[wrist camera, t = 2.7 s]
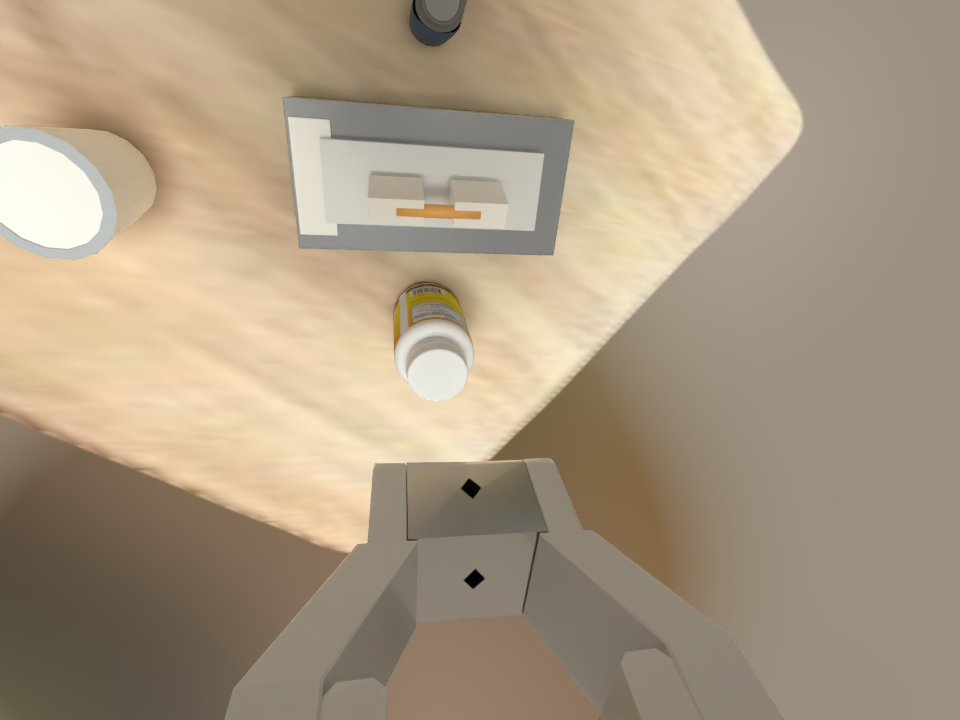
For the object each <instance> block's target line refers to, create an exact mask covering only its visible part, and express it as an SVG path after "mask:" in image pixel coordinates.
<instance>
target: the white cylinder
mask: <svg viewBox="0 0 960 720" xmlns="http://www.w3.org/2000/svg"><path fill="white" fill-rule="evenodd" d="M156 193H157V185H156V180H155V174H154V171H153V170H152V168H151V166H150V165H149V163H148V161H147V160H146V158H145V156H144V155H143V154H142V153H141V152H140V151H139V150H138V149H136V148H135V147H134V146H133V145H132V144H131V143H130V142H129V141H127V140H125V139H123V138H121V137H119V136H117V135H115V134H113V133H111V132H109V131H102V130H94V129H81V128H56V127H31V126H3V127H0V235H2V236H3V237H4V238H6V239H7V240H9V241H10V242H11V243H13V244H14V245H16V246H17V247H19V248H22V249H24V250H27V251H30V252H32V253H35V254H38V255H40V256H43V257H45V258H54V259H68V260H76V259H79V258H82V257H86V256H89V255H92V254H95V253H98V252H99V251H100V250H101V249H102V248H104V247H105V246H106V245H107V244H108V243H110V242H111V241H112V240H113V239H114V238H116V237H117V236H118V235H119V234H121V233H122V232H123V231H124V230H125V229H127V228H128V227H129V226H130V225H131V224H133V223H134V222H135V221H136V220H138V219H139V218H140V217H141V216H142V215H143V214H144V213H145V212H146V211H147V210H148V209H150V208H151V207H152V206H153V204H154V200H155V197H156Z"/></svg>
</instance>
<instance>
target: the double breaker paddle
mask: <svg viewBox="0 0 960 720" xmlns="http://www.w3.org/2000/svg"><path fill="white" fill-rule="evenodd" d="M508 205H509V204H508V202H507V199H506V196H505V193H504V191H503V188H502V185H501V182H485V181H467V180H451V184H450V197H449V205H440V204H424V192H423V182H422V178H413V177H395V176H377V175H369V187H368V213H369V223H370V224H396V225H422V226H424V218H440V219H452V223H453V227H474V228H501V229H505V223H506V217H507V211H508Z"/></svg>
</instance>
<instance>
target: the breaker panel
mask: <svg viewBox="0 0 960 720" xmlns="http://www.w3.org/2000/svg"><path fill="white" fill-rule="evenodd" d="M283 104H284V113H285V122H286V131H287V140H288V149H289V158H290V167H291V176H292V186H293V195H294V204H295V213H296V222H297V231H298V240H299V248H311V249H346V250H381V251H416V252H451V253H486V254H520V255H553V254H554V247H555V241H556V234H557V228H558V221H559V215H560V208H561V202H562V196H563V189H564V183H565V176H566V170H567V163H568V157H569V150H570V144H571V137H572V131H573V125H574V121H573V120H567V119H562V118H553V117H540V116H528V115H516V114H503V113H491V112H479V111H466V110H454V109H442V108H430V107H417V106H405V105H393V104H380V103H368V102H356V101H343V100H331V99H319V98H307V97H294V96H290V97H283ZM369 175H377V176H395V177H413V178H422V182H423V192H424V204H440V205H449V197H450V184H451V180H467V181H485V182H501V185H502V188H503V191H504V193H505V196H506V199H507V202H508V204H509V205H508V211H507V217H506V223H505V229H501V228H474V227H453V223H452V219H440V218H424V226H422V225H396V224H370V223H369V213H368V187H369Z"/></svg>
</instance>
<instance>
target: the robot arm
mask: <svg viewBox="0 0 960 720" xmlns="http://www.w3.org/2000/svg"><path fill="white" fill-rule="evenodd" d="M510 615H523V619H524V620H525V621H526V622H527V624H528V625H529V626H530V627H531V629H532V630H533V631H534V632H535V634H536V635H537V636H538V637H539V638H540V640H541V641H542V642H543V643H544V645H545V646H546V647H547V648H548V650H549V651H550V652H551V653H552V654H553V655H554V657H555V658H556V659H557V661H558V662H559V663H560V664H561V666H562V667H563V668H564V669H565V671H566V672H567V673H568V674H569V676H570V677H571V678H572V679H573V680H574V682H575V683H576V684H577V685H578V687H579V688H580V689H581V690H582V691H583V693H584V694H585V695H586V696H587V698H588V699H589V700H590V701H591V703H592V704H593V705H594V706H595V707H596V709H597V710H598V711H599V712H600V714H601V715H600V718H599V720H784V719H783V717H782V715H781V714H780V712H779V710H778V709H777V707H776V706H775V704H774V702H773V701H772V699H771V697H770V696H769V694H768V693H767V691H766V689H765V688H764V686H763V684H762V683H761V681H760V680H759V678H758V676H757V675H756V673H755V671H754V670H753V668H752V667H751V665H750V664H749V662H748V660H747V658H746V657H745V655H744V654H743V652H742V651H741V649H740V647H739V646H738V644H737V642H736V641H735V639H734V638H733V637H732V636H731V635H729V634H728V633H726V632H725V631H724V630H723V629H721V628H720V627H719V626H717V625H716V624H715V623H713V622H712V621H711V620H709V619H708V618H707V617H706V616H704V615H703V614H702V613H700V612H699V611H698V610H696V609H695V608H694V607H692V606H691V605H690V604H688V603H687V602H686V601H684V600H683V599H682V598H680V597H679V596H678V595H677V594H675V593H674V592H673V591H671V590H670V589H669V588H667V587H666V586H665V585H663V584H662V583H661V582H660V581H658V580H657V579H656V578H654V577H653V576H652V575H650V574H649V573H648V572H646V571H645V570H644V569H642V568H641V567H640V566H639V565H637V564H636V563H635V562H633V561H632V560H631V559H629V558H628V557H627V556H625V555H624V554H623V553H621V552H620V551H619V550H617V549H616V548H615V547H614V546H612V545H611V544H610V543H608V542H607V541H605V540H604V539H603V538H602V537H600V536H599V535H598V534H597V533H595V532H594V531H592V530H591V531H583V528H582V526H581V524H580V522H579V519H578V517H577V514H576V512H575V510H574V507H573V505H572V503H571V500H570V498H569V496H568V494H567V491H566V489H565V487H564V484H563V482H562V480H561V477H560V475H559V473H558V471H557V469H556V466H555V463H554V462H553V461H552V460H551V459H550V458H540V459H522V460H510V461H483V462H427V463H406V464H405V463H378V464H375V465H374V469H373V478H372V491H371V504H370V517H369V531H368V543H366V544H357V545H356V546H355V548H354V549H353V550H352V551H351V552H350V553H349V555H348V556H347V557H346V558H345V559H344V561H343V562H342V563H341V564H340V565H339V566H338V567H337V569H336V570H335V571H334V572H333V574H332V575H331V576H330V577H329V578H328V579H327V580H326V581H325V583H324V584H323V585H322V586H321V587H320V589H319V590H318V591H317V592H316V593H315V594H314V595H313V597H312V598H311V599H310V600H309V601H308V602H307V604H306V605H305V606H304V607H303V608H302V609H301V611H300V612H299V613H298V614H297V615H296V617H295V618H294V619H293V620H292V621H291V622H290V623H289V624H288V626H287V627H286V628H285V629H284V630H283V631H282V633H281V634H280V635H279V636H278V637H277V638H276V640H275V641H274V642H273V643H272V644H271V645H270V647H269V648H268V649H267V650H266V651H265V653H264V654H263V655H262V656H261V657H260V658H259V660H258V661H257V662H256V663H255V664H254V665H253V667H252V668H251V669H250V670H249V671H248V672H247V673H246V675H245V676H244V677H243V678H242V679H241V680H240V682H239V683H238V684H237V685H236V686H235V687H234V689H233V693H232V696H231V699H230V703H229V706H228V710H227V713H226V717H225V720H387V695H386V694H387V692H386V691H387V690H386V688H385V686H386V684H387V682H388V680H389V678H390V676H391V674H392V672H393V671H394V669H395V666H396V665H397V663H398V661H399V659H400V657H401V655H402V653H403V651H404V649H405V648H406V646H407V644H408V642H409V640H410V638H411V636H412V634H413V632H414V630H415V628H416V624H421V623H429V622H438V621H446V620H455V619H464V618H474V617H475V618H476V617H493V616H510Z"/></svg>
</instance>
